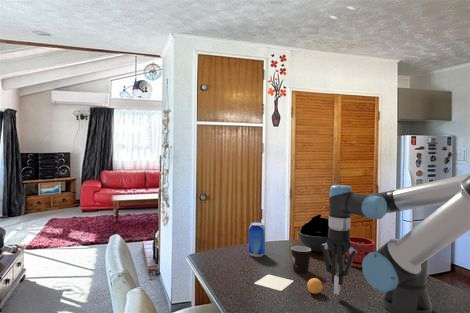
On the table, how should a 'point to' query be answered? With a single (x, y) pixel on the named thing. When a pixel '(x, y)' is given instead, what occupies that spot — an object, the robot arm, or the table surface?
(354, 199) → the robot arm
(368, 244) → the plant pot
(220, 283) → the table surface
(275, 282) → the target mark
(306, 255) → the coffee mug
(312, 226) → the bowl of black rocks
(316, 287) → the ball
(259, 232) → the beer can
